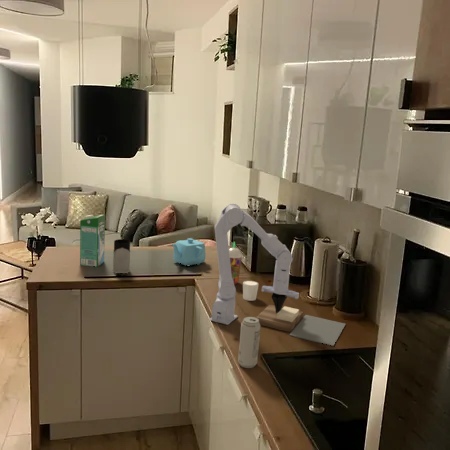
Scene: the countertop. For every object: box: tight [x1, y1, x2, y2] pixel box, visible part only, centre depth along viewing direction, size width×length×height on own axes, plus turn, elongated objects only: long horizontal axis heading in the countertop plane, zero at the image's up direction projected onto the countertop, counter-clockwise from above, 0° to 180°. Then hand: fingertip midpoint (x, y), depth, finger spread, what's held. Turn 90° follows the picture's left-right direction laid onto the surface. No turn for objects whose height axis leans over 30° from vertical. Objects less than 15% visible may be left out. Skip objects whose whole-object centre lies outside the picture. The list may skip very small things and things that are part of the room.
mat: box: [289, 314, 347, 347], centre depth 181 cm, size 22×16×1 cm
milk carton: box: [79, 214, 106, 268], centre depth 240 cm, size 9×9×25 cm
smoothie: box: [229, 241, 243, 286], centre depth 226 cm, size 8×8×20 cm
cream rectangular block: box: [277, 305, 300, 322], centre depth 185 cm, size 9×6×2 cm, turn 155°
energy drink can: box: [237, 316, 262, 369], centre depth 150 cm, size 6×6×15 cm
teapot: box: [170, 237, 206, 266], centre depth 252 cm, size 18×16×14 cm
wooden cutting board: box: [255, 304, 304, 333], centre depth 187 cm, size 16×14×2 cm
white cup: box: [242, 280, 259, 302], centre depth 208 cm, size 7×7×7 cm
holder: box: [111, 238, 131, 274], centre depth 235 cm, size 9×14×15 cm, turn 14°
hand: (278, 312), depth 187 cm, fingers closed
